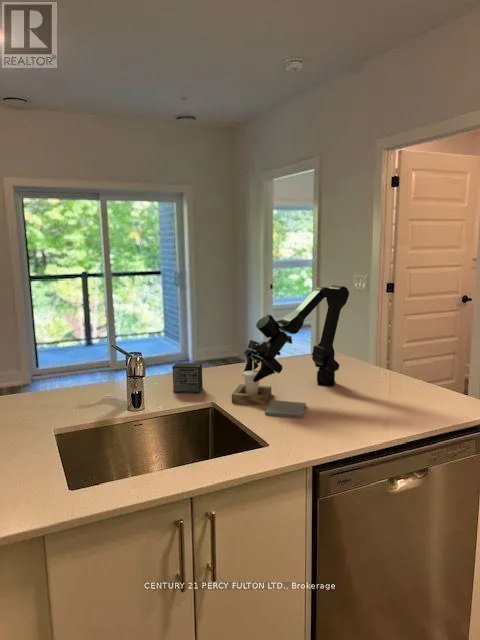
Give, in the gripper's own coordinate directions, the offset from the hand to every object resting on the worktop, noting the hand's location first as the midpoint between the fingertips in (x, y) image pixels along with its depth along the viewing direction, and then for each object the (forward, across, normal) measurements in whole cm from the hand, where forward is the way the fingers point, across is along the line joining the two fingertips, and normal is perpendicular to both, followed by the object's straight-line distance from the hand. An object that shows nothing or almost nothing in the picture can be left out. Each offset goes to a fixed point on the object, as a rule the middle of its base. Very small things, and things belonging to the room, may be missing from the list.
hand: (248, 378), depth 166 cm
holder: (+4, 0, +6) cm, 8 cm away
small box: (+16, -20, -5) cm, 26 cm away
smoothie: (+4, 0, +6) cm, 8 cm away
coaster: (+2, +16, +9) cm, 19 cm away
